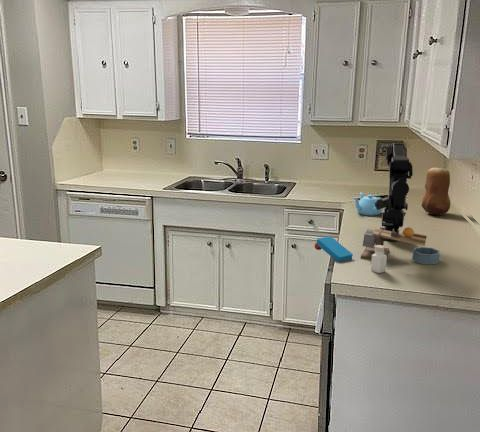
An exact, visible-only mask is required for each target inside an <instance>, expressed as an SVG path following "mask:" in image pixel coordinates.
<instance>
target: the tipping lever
mask: <svg viewBox="0 0 480 432" xmlns="http://www.w3.org/2000/svg"><path fill="white" fill-rule="evenodd" d="M376 234H378V235H381V237H382V238H387V239H392V240H398V241H397V242H404V243H409V244H414V245H419V246H422V247H425V245H426V242H427V236H428V235H425V234H419V233H415V232H414V235H413V236H412V237H410V238H409V237H405V236H404V235H403V232H402V233H401V232H400V229H398V231H394V229H393V230H392V232H391V231H386V230H383V229H380V228H375V229H369V228H367V230H366V231H365V232H364V234H363V239H362V240H363V241H362V247H365V248H366V247H370V248H373V247H375V244H376Z"/></svg>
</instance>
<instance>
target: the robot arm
mask: <svg viewBox="0 0 480 432" xmlns="http://www.w3.org/2000/svg"><path fill="white" fill-rule="evenodd" d="M384 159H385V161H386V165H387V166H388V169H389V170H388V171H389V177H388V178H389V185H388V196H387V197H384V198H382V199H379V200H377V201H375V202H374V203H375V207H376V209H377V210H380V209H381V208H383V212H381V227H384V228H385V229H384V230H386V231H391V232H392V230H393V229H394V231H398V230H400V228H403V227H404V220H405V216H406V214H407V213H406V211H408V208H409V207H408V206H409V204H408V203H407V196H408V193H409V191H410V186H409V184H408V180H410V179H412V177H413V174H414V173H413V171H414V170H413V164H412V162H411V161H410V159H409V158H408V148H407V147H406V146H405V143H402V142H401V143H400V142H394V143H391V145H390V146H388V147H386V150H385V157H384ZM404 210H405V211H404ZM384 241H388V242H389V241H390V242H399V241H398V240H392V239H387V238H384Z"/></svg>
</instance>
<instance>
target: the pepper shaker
mask: <svg viewBox="0 0 480 432" xmlns="http://www.w3.org/2000/svg"><path fill="white" fill-rule="evenodd" d="M374 247H375V254H373V255H372V260H371V266H370V270H371V272H374V273H376V274H377V273H378V274H382V273H384V272H386V270H387V257H388V255H387V256H386V255H384V248H385V246H384V245H383V246H382V245H376V246H375V245H374Z"/></svg>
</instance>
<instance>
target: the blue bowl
mask: <svg viewBox="0 0 480 432" xmlns="http://www.w3.org/2000/svg"><path fill="white" fill-rule="evenodd" d="M440 253H441V252H440V249H436V248H433V247H427V246H426V247H425V246H421V247H418V246H417V247H414V248H413V252H412V259H411V260H412V261H413V262H415V263H418V264H422V265H437V264H439V263H440Z"/></svg>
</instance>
